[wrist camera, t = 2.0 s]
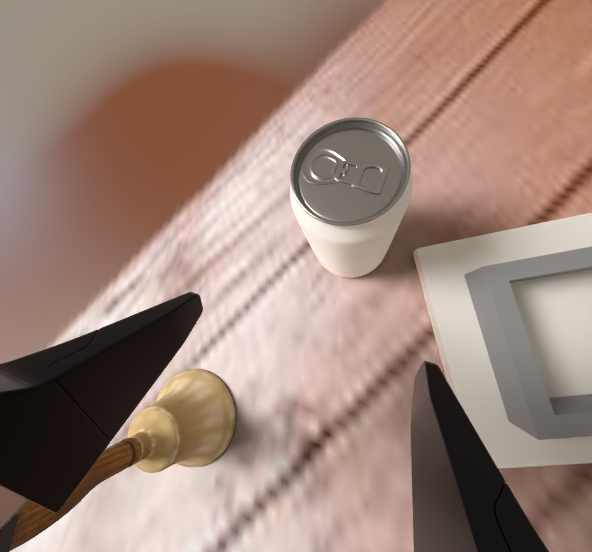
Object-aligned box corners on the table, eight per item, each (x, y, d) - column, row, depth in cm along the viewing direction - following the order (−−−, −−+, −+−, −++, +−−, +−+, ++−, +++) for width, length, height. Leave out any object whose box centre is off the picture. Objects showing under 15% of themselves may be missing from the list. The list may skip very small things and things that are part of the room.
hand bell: (141, 433, 25) (-198, 608, 10) (180, 353, 26) (-78, 396, 10) (209, 485, 23) (-87, 821, 7) (251, 396, 23) (57, 534, 8)
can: (328, 203, 25) (308, 100, 14) (397, 221, 23) (440, 120, 12) (305, 265, 24) (262, 213, 13) (373, 288, 23) (394, 252, 11)
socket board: (467, 458, 19) (500, 498, 15) (412, 253, 23) (426, 236, 18) (742, 440, 16) (882, 482, 12) (632, 208, 20) (710, 176, 15)
